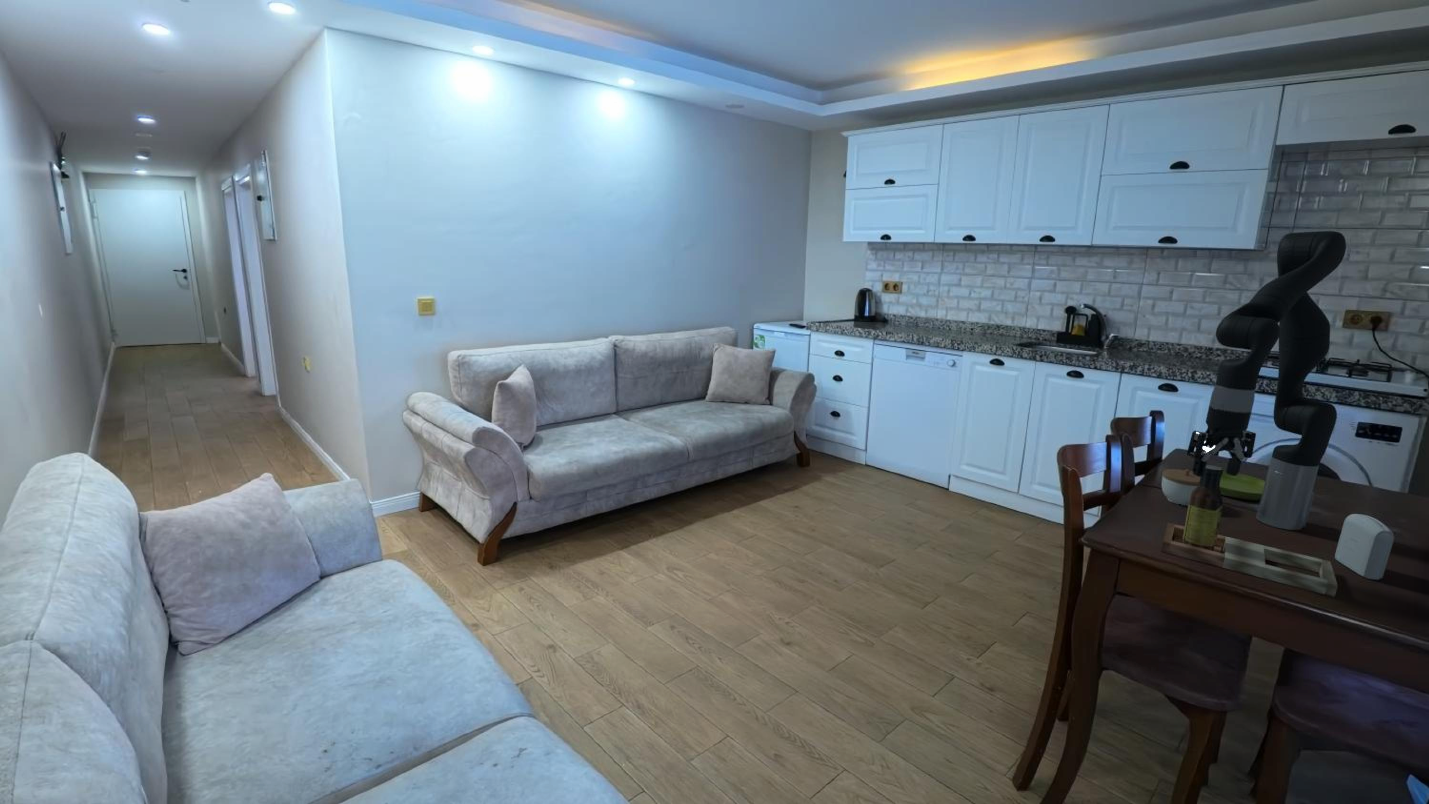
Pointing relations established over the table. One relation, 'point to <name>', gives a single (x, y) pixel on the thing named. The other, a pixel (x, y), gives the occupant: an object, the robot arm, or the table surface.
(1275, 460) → the robot arm
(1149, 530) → the table surface
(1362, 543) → the photo printer
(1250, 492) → the saucer
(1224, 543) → the birch rail plate
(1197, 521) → the sauce bottle
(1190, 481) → the lidded jar
